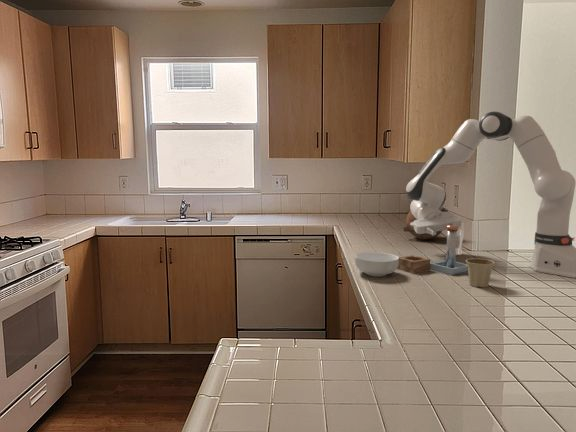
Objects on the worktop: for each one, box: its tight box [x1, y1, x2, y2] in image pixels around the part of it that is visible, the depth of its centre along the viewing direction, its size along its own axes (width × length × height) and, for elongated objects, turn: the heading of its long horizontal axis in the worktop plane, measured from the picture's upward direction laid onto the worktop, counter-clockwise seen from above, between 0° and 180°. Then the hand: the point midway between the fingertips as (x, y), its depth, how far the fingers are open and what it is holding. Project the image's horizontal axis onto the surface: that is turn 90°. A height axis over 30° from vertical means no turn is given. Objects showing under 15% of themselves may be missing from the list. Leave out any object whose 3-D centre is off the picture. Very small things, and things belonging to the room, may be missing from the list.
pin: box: [445, 225, 459, 268], centre depth 185 cm, size 5×5×17 cm
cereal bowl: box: [354, 251, 399, 278], centre depth 182 cm, size 17×17×7 cm
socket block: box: [396, 254, 431, 274], centre depth 188 cm, size 9×9×4 cm
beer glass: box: [456, 220, 465, 256], centre depth 215 cm, size 7×7×15 cm
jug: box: [402, 207, 446, 240], centre depth 256 cm, size 20×20×30 cm
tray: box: [429, 260, 468, 277], centre depth 186 cm, size 11×11×2 cm
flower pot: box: [465, 257, 496, 288], centre depth 166 cm, size 9×9×9 cm
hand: (445, 232), depth 197 cm, fingers open, 8 cm apart
